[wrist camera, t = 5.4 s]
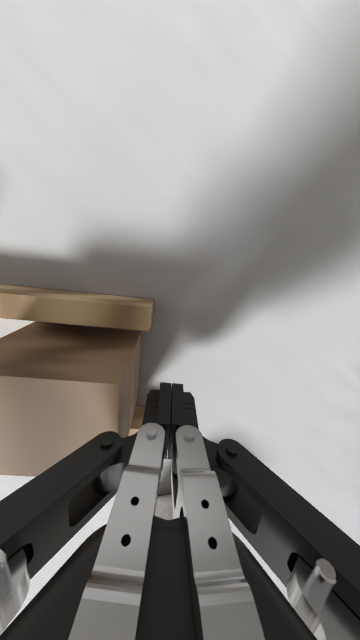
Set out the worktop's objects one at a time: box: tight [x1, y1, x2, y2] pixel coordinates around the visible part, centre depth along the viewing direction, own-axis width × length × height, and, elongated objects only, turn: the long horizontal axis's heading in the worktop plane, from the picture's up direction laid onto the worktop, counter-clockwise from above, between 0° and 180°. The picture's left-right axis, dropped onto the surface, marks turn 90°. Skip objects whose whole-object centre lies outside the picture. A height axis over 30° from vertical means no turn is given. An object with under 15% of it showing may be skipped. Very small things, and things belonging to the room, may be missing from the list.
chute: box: [0, 284, 154, 436], centre depth 14 cm, size 16×14×6 cm
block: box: [0, 322, 142, 476], centre depth 13 cm, size 8×6×7 cm
